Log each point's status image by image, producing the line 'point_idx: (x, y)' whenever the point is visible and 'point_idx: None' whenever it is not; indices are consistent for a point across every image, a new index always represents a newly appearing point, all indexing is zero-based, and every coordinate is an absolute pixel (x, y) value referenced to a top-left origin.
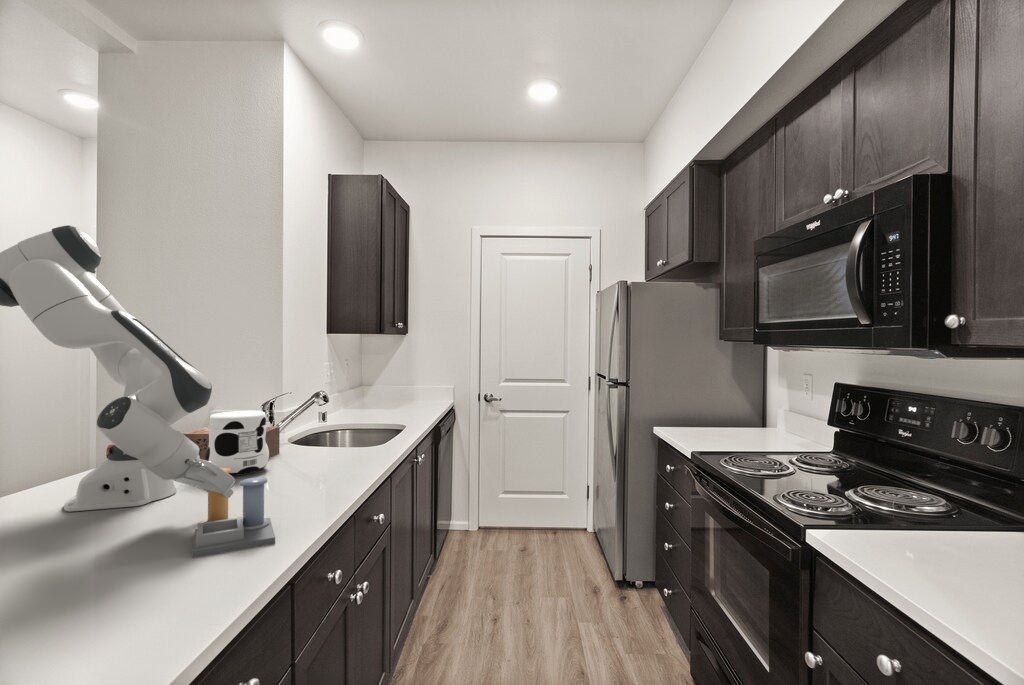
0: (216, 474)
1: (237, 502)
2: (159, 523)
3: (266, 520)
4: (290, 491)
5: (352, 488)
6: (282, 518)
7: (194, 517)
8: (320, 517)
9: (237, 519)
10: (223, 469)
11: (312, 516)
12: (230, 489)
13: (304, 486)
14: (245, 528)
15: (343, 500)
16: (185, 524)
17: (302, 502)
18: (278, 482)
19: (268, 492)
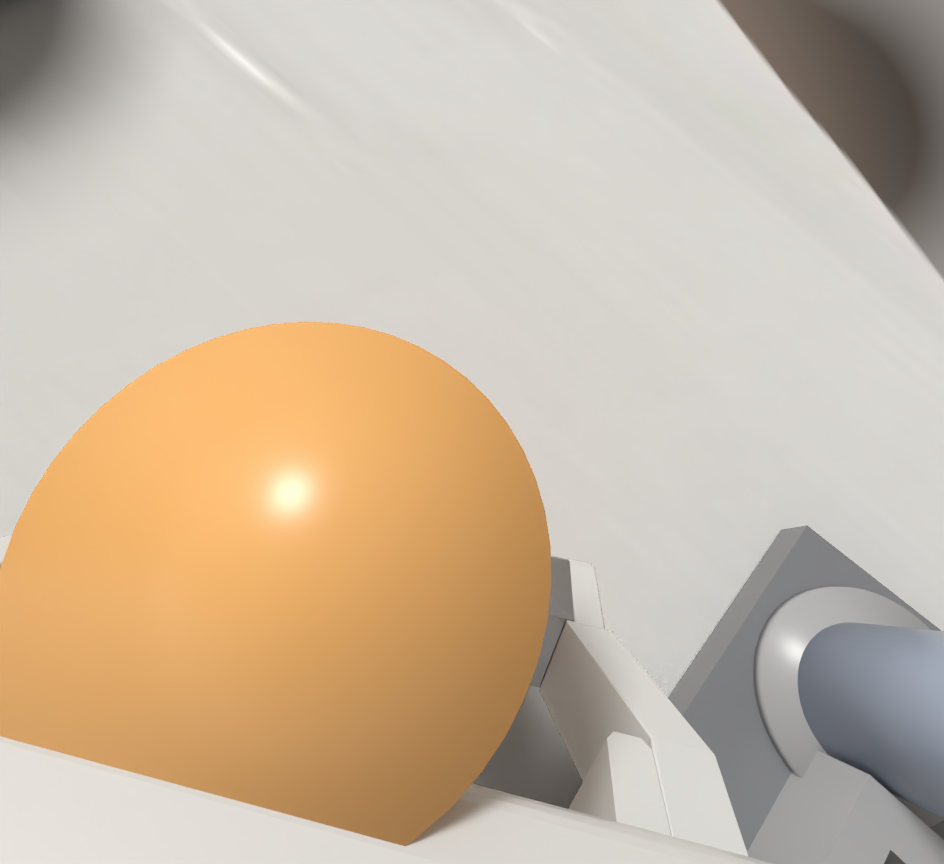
0: (492, 846)
1: (282, 296)
2: None
3: (886, 611)
4: (433, 99)
5: (687, 14)
6: (770, 439)
7: None
8: (941, 366)
9: (902, 856)
10: (317, 436)
11: (888, 365)
12: (598, 604)
13: (442, 34)
14: (929, 825)
15: (802, 142)
16: None
17: (638, 210)
18: (261, 15)
19: (329, 134)
